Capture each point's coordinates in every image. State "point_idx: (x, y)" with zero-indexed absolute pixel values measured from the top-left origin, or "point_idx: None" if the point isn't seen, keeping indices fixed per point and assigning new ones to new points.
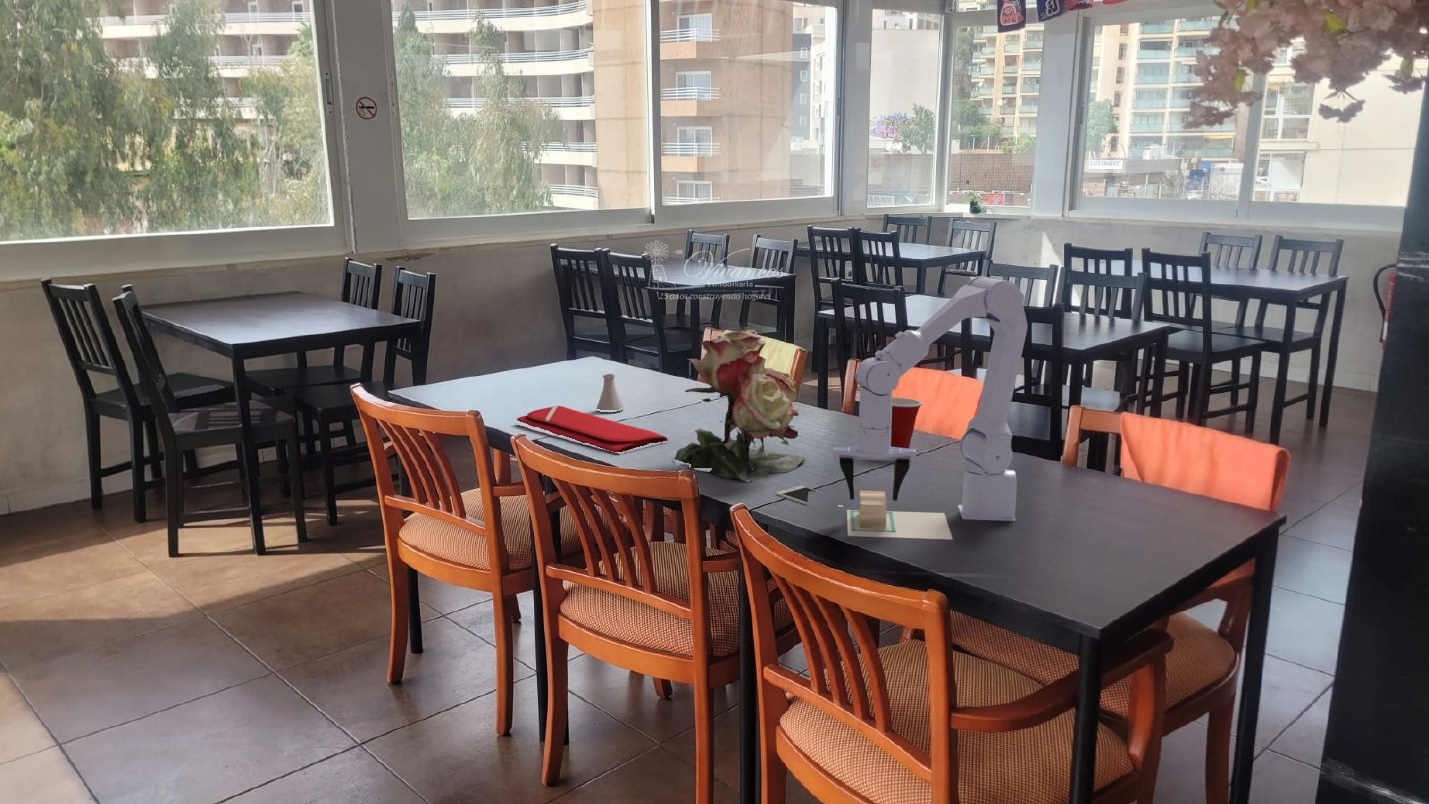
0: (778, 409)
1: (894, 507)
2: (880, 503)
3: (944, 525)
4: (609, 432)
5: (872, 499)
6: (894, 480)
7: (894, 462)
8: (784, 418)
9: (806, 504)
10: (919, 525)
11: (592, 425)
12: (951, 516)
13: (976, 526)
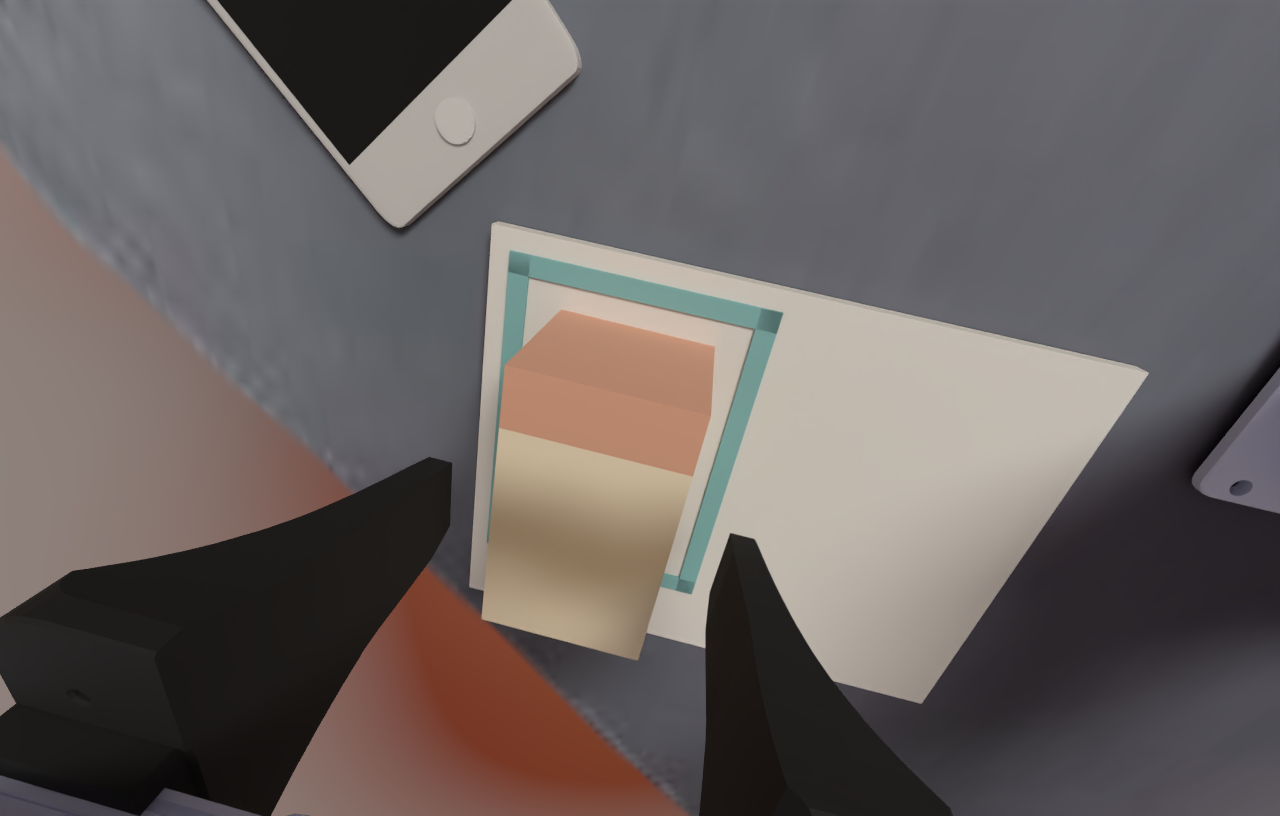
0: None
1: (867, 134)
2: (606, 630)
3: (994, 562)
4: None
5: (569, 562)
6: (730, 681)
7: (761, 809)
8: None
9: (221, 12)
10: (852, 538)
11: None
12: (1179, 383)
13: (1199, 558)
